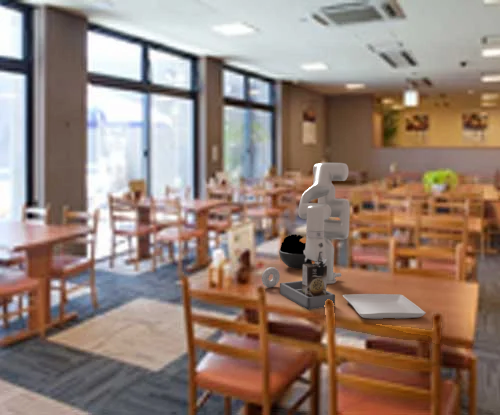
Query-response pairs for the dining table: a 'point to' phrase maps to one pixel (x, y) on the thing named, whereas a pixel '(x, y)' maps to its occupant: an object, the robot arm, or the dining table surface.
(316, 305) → the caddy
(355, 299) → the square plate
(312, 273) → the coffee box
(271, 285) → the donut
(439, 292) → the dining table surface
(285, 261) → the bowl of black rocks
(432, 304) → the dining table surface
